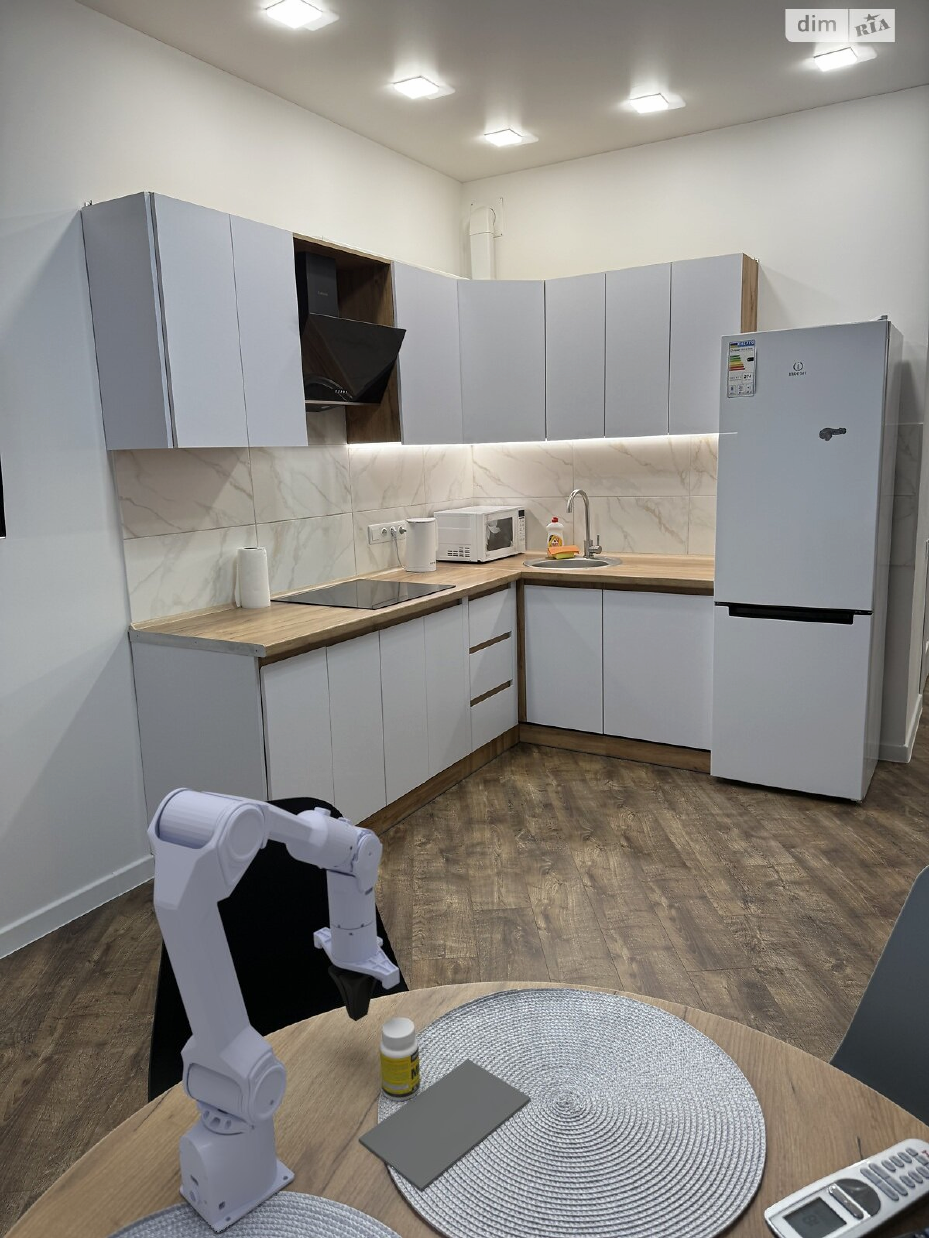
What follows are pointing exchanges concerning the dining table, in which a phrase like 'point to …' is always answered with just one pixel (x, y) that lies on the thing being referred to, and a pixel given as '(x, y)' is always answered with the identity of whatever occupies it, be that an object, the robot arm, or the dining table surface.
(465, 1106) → the mat
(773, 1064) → the dining table surface
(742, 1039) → the dining table surface
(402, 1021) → the supplement bottle
